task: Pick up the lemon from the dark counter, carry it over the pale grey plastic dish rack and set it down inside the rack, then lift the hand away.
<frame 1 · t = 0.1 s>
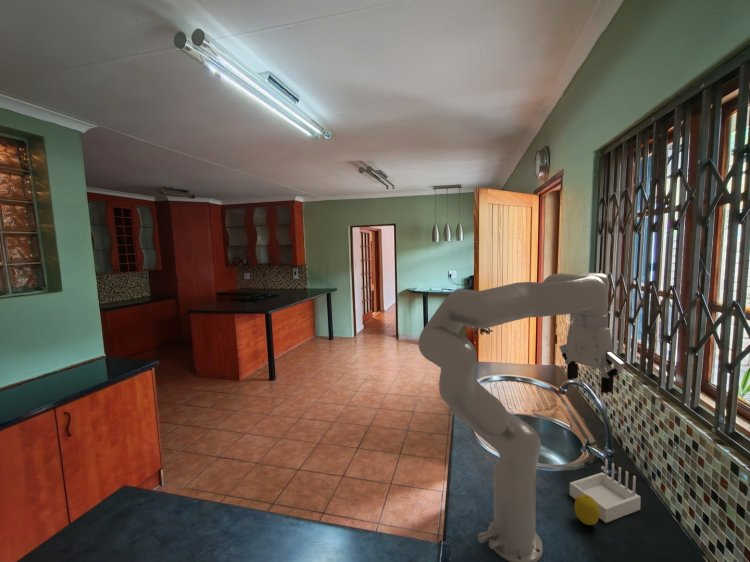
hand: (588, 385, 88), 37 cm above the counter, tool pointing down, fingers open, 9 cm apart
rack: (603, 502, 95), on the counter
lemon: (586, 524, 88), on the counter
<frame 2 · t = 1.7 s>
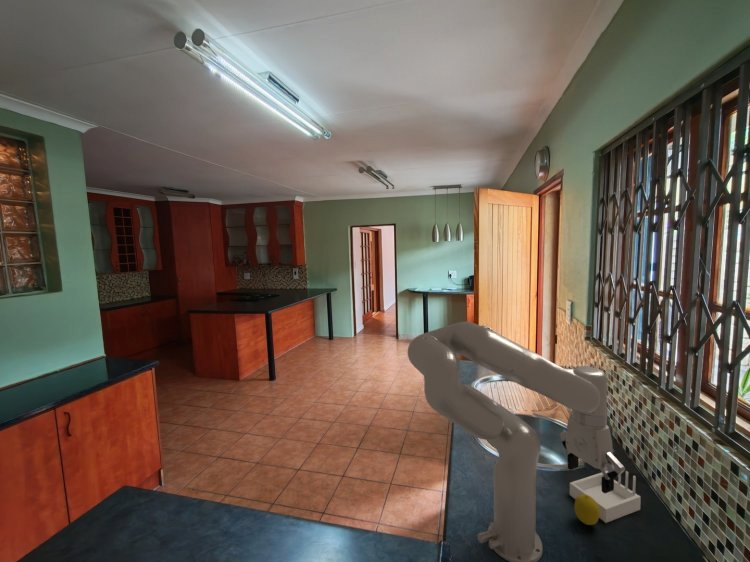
hand: (589, 479, 87), 12 cm above the counter, tool pointing down, fingers open, 9 cm apart
nothing on the counter moved.
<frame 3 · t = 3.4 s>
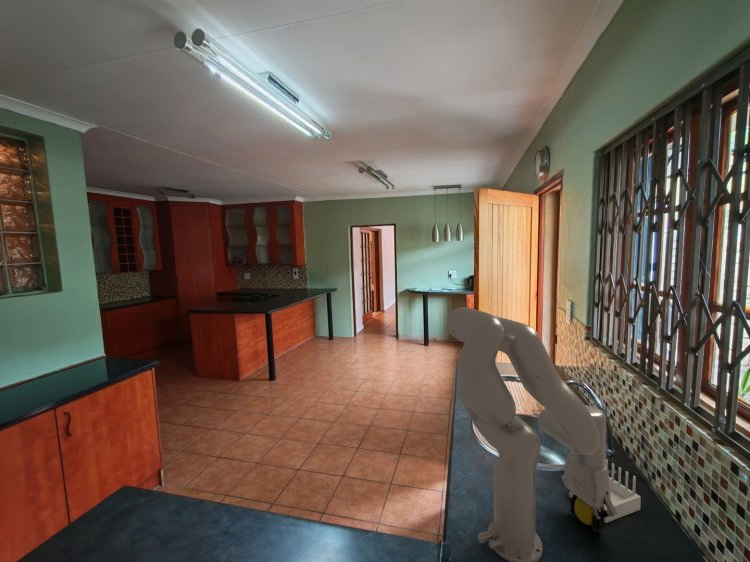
hand: (586, 520, 88), 1 cm above the counter, tool pointing down, fingers closed on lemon, 5 cm apart
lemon: (586, 524, 88), on the counter, touching gripper
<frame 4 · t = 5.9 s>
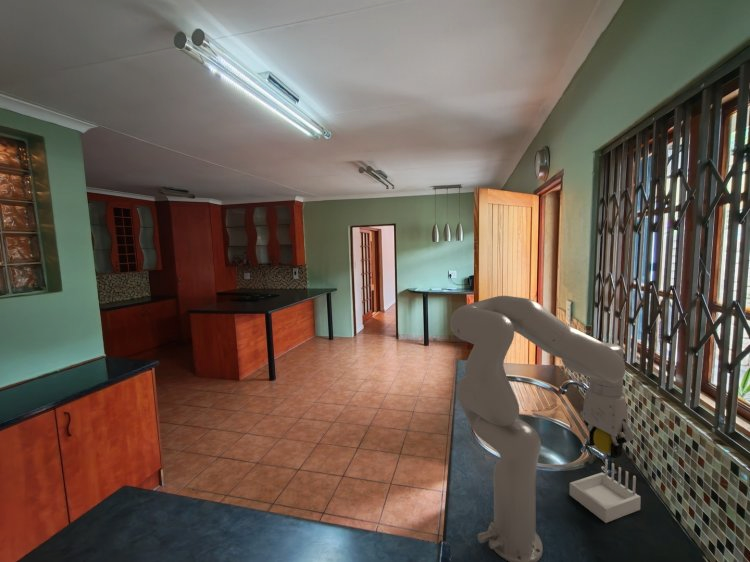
hand: (604, 449, 94), 16 cm above the counter, tool pointing down, fingers closed on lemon, 5 cm apart
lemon: (604, 454, 94), point 14 cm above the counter, touching gripper
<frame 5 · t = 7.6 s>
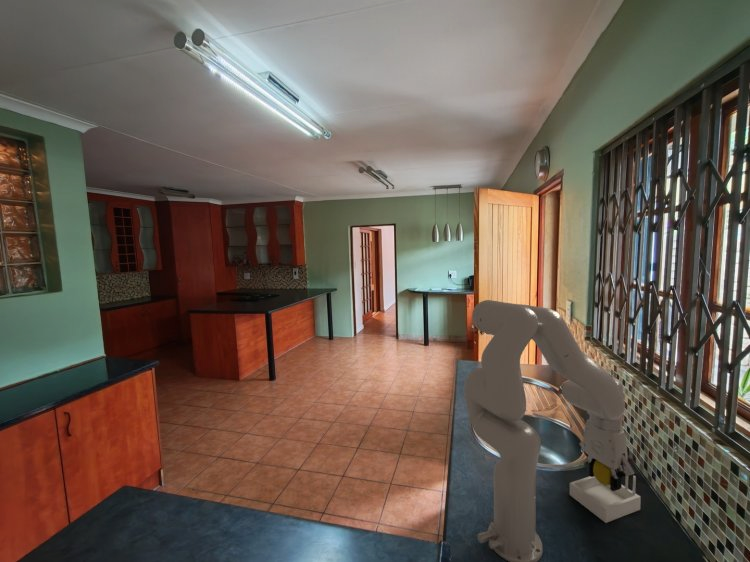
hand: (604, 481, 95), 6 cm above the counter, tool pointing down, fingers closed on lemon, 5 cm apart
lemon: (604, 485, 95), point 5 cm above the counter, touching gripper
when the fingers open (4 cm above the counter, at t = 8.8 s): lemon drops 2 cm, resting on rack.
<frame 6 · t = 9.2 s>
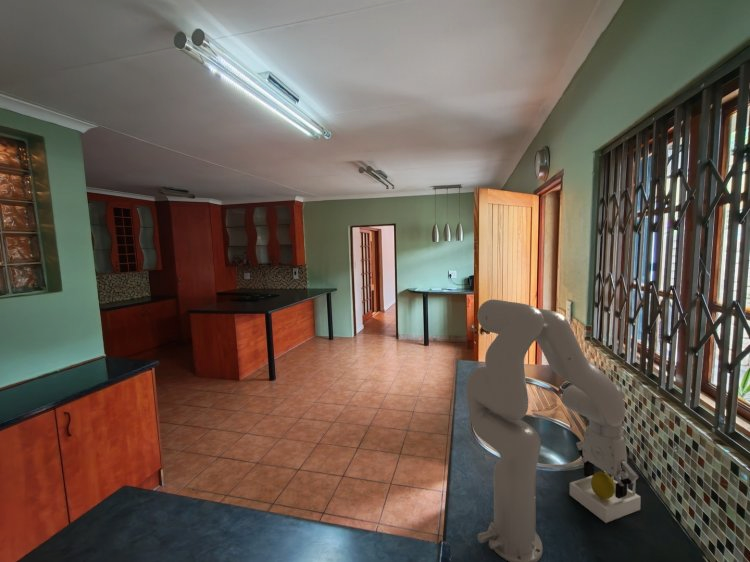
hand: (604, 485, 95), 5 cm above the counter, tool pointing down, fingers open, 9 cm apart
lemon: (602, 499, 96), point 1 cm above the counter, touching rack
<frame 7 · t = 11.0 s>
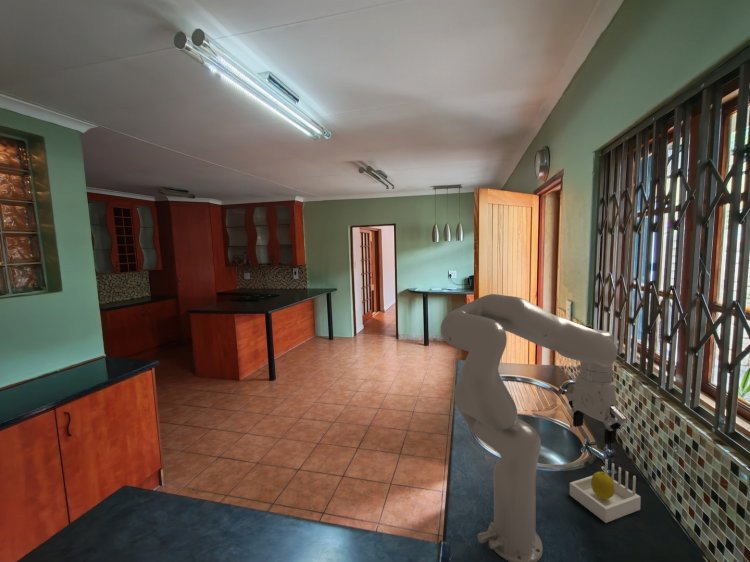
hand: (593, 434, 94), 20 cm above the counter, tool pointing down, fingers open, 9 cm apart
nothing on the counter moved.
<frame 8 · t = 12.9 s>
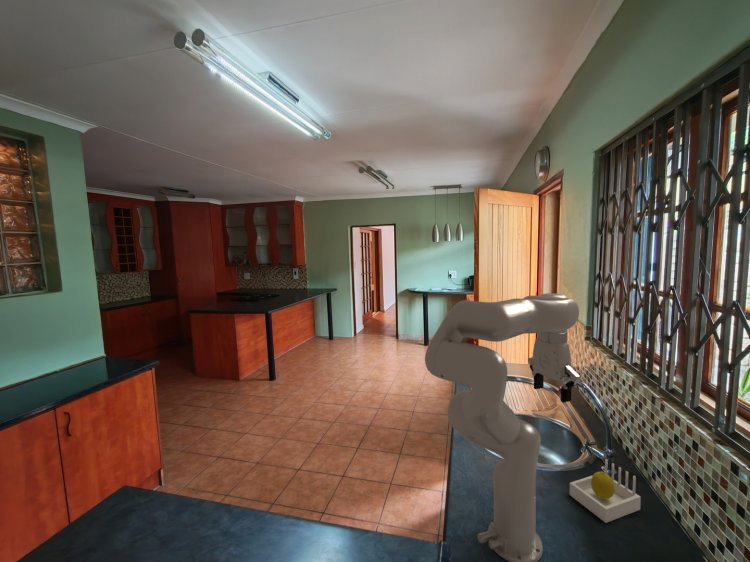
hand: (551, 394, 97), 30 cm above the counter, tool pointing down, fingers open, 9 cm apart
nothing on the counter moved.
at the end: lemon inside the target area on the rack (0.4 cm from its centre), point 0.6 cm above the rack's base; the gripper is holding nothing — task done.
